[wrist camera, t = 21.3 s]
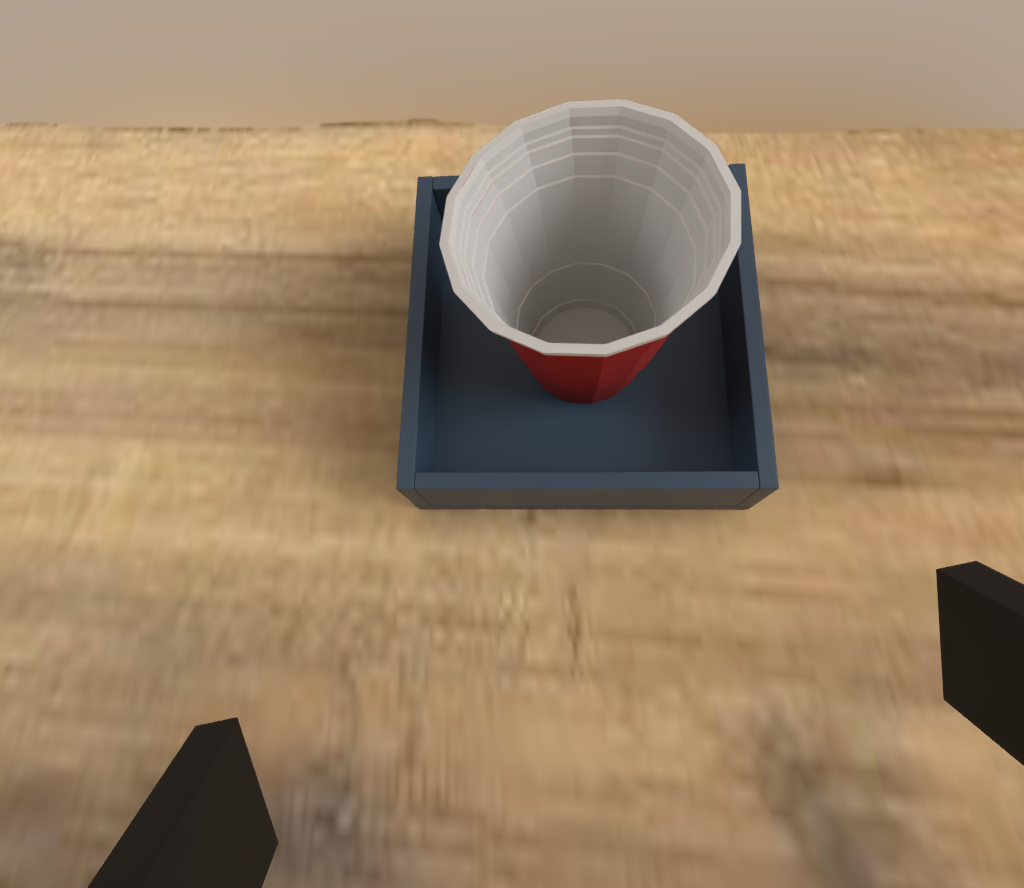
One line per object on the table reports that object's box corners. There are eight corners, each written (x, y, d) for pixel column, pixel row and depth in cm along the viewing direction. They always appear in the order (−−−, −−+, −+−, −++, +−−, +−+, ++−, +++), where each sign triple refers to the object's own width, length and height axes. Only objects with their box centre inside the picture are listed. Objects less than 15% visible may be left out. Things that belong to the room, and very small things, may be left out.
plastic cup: (512, 245, 36) (487, 66, 25) (703, 287, 35) (771, 115, 23) (451, 421, 34) (392, 310, 22) (655, 476, 32) (706, 387, 20)
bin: (419, 509, 33) (395, 489, 29) (435, 231, 38) (417, 176, 33) (748, 509, 32) (779, 488, 27) (722, 222, 36) (745, 162, 32)
